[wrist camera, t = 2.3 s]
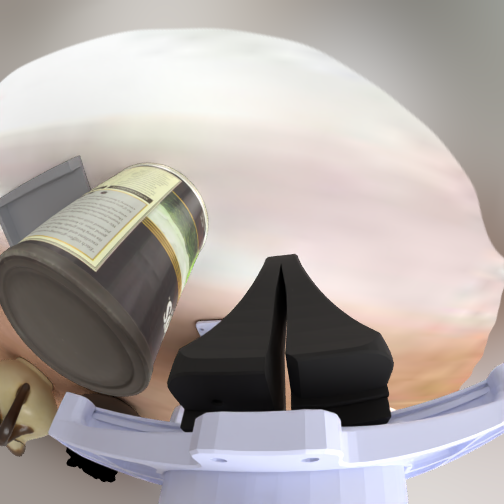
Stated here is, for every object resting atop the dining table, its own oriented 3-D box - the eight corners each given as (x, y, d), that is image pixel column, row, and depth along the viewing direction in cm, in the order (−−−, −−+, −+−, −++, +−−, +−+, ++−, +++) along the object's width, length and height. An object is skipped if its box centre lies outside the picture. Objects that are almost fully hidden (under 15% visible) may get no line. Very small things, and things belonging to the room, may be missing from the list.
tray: (132, 290, 27) (126, 301, 26) (47, 294, 30) (40, 302, 28) (79, 155, 20) (67, 160, 18) (2, 197, 22) (-8, 203, 21)
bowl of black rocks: (160, 396, 40) (133, 493, 24) (165, 431, 50) (148, 500, 34) (64, 359, 39) (25, 438, 23) (89, 403, 49) (65, 465, 33)
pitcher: (26, 380, 53) (-4, 440, 31) (-10, 327, 40) (-54, 396, 19) (80, 407, 53) (53, 480, 32) (45, 358, 41) (0, 449, 19)
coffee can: (234, 217, 22) (191, 365, 10) (167, 285, 26) (111, 409, 14) (139, 135, 19) (-3, 203, 7) (88, 221, 23) (-6, 317, 11)
